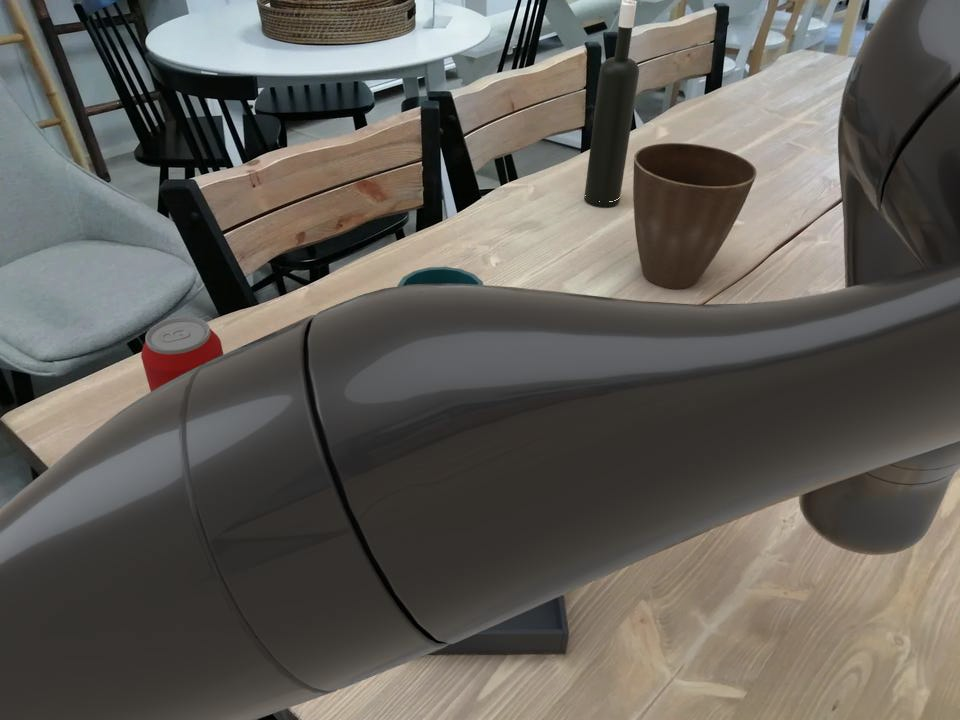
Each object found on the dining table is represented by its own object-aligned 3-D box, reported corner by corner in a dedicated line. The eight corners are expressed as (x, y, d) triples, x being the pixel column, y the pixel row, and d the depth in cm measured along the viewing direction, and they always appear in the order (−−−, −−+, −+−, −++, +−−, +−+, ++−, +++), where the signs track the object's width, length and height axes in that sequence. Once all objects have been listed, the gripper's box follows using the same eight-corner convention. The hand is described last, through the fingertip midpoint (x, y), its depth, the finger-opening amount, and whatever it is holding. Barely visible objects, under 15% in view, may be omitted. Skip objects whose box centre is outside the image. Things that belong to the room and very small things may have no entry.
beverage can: (247, 445, 71) (226, 342, 64) (174, 469, 68) (144, 363, 61) (228, 406, 75) (207, 305, 68) (159, 426, 73) (130, 323, 66)
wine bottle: (587, 191, 124) (612, -5, 107) (621, 196, 123) (652, -2, 105) (580, 204, 120) (605, 1, 102) (616, 210, 118) (647, 5, 101)
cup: (446, 429, 57) (447, 319, 51) (385, 397, 60) (379, 289, 54) (495, 390, 61) (501, 284, 55) (436, 361, 64) (435, 258, 58)
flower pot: (693, 246, 109) (717, 139, 99) (748, 297, 97) (781, 181, 88) (599, 255, 105) (615, 145, 96) (644, 309, 94) (667, 190, 84)
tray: (403, 655, 53) (402, 634, 52) (408, 577, 59) (407, 557, 58) (565, 654, 54) (569, 633, 53) (555, 577, 59) (558, 557, 58)
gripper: (655, 296, 55) (458, 245, 61) (589, 401, 44) (358, 327, 50) (640, 377, 59) (457, 322, 65) (576, 490, 49) (365, 412, 55)
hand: (415, 324), depth 58 cm, fingers closed on cup, 6 cm apart
